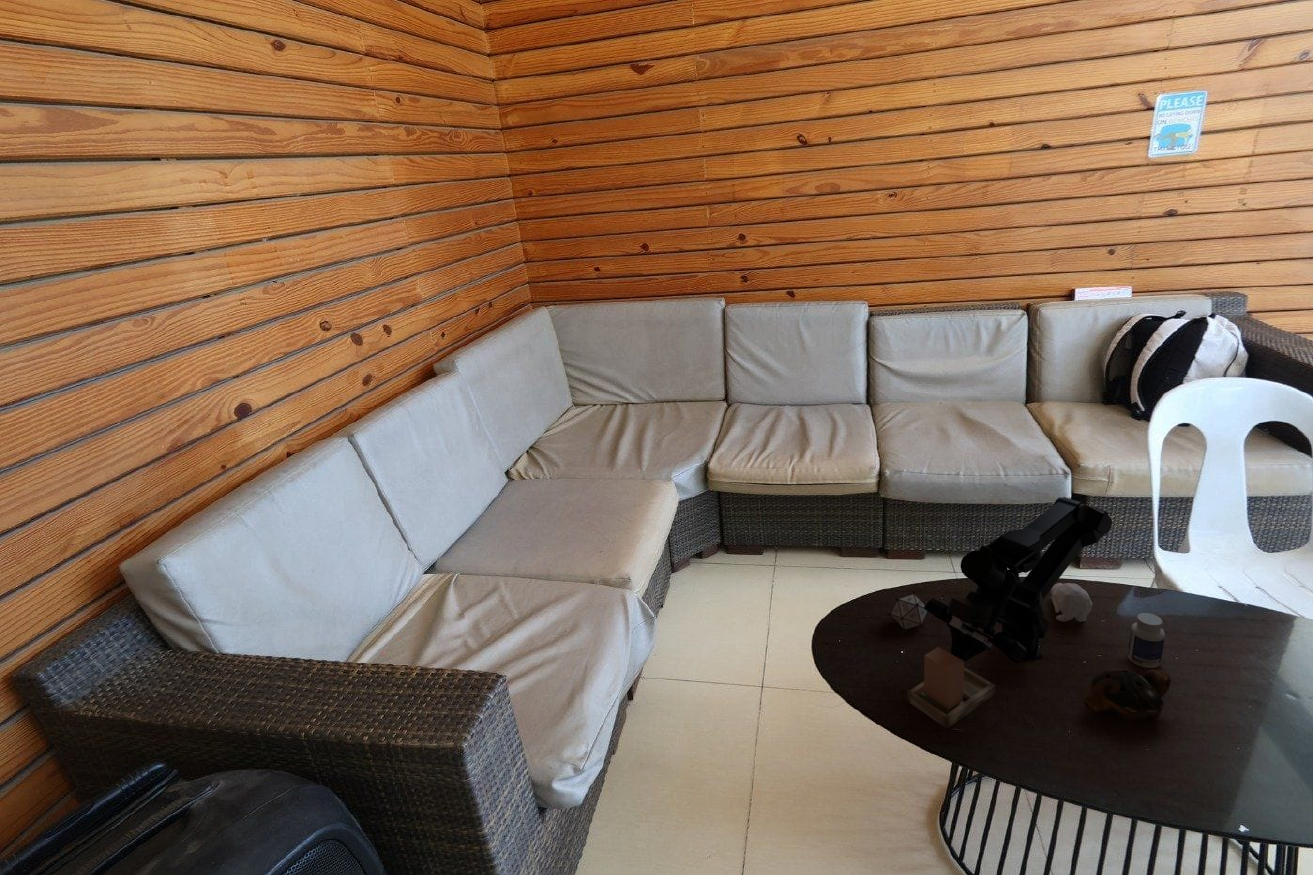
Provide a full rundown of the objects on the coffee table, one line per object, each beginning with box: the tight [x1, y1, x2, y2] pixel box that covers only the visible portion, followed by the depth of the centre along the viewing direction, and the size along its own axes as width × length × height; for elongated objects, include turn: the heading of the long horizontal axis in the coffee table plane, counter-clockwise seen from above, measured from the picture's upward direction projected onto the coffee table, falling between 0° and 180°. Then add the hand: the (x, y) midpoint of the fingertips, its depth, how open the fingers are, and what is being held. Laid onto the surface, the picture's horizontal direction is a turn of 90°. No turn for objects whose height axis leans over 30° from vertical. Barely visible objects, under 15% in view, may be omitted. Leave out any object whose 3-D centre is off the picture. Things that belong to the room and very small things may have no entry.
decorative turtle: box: [1082, 668, 1172, 725], centre depth 121 cm, size 10×15×8 cm, turn 100°
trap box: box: [906, 666, 996, 729], centre depth 130 cm, size 14×9×2 cm, turn 121°
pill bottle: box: [1127, 612, 1166, 669], centre depth 132 cm, size 5×5×10 cm
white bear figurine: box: [1048, 582, 1093, 623], centre depth 149 cm, size 6×8×12 cm
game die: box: [886, 590, 929, 634], centre depth 150 cm, size 9×8×10 cm
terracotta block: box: [923, 646, 966, 710], centre depth 127 cm, size 4×6×9 cm
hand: (951, 668), depth 128 cm, fingers closed, pressing on terracotta block
